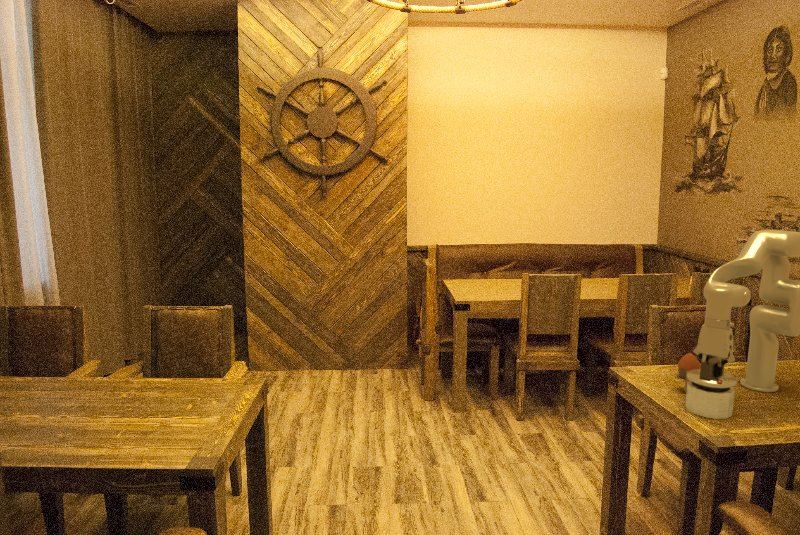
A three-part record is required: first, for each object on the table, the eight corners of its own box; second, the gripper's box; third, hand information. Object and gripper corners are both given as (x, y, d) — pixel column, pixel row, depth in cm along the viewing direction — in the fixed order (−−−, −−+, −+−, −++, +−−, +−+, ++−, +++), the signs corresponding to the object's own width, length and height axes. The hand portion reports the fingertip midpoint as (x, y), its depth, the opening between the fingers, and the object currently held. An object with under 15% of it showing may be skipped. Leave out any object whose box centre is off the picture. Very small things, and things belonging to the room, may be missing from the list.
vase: (698, 381, 236) (700, 359, 234) (679, 379, 237) (681, 358, 236) (693, 375, 242) (695, 354, 241) (675, 374, 244) (677, 353, 242)
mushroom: (672, 386, 230) (676, 348, 227) (695, 388, 228) (699, 350, 225) (677, 394, 222) (681, 355, 219) (701, 396, 220) (705, 356, 218)
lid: (698, 373, 216) (700, 351, 215) (743, 385, 205) (746, 362, 204) (678, 382, 207) (680, 359, 205) (724, 396, 195) (727, 371, 194)
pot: (696, 399, 217) (699, 375, 216) (738, 411, 207) (741, 386, 205) (678, 409, 208) (680, 384, 207) (720, 422, 198) (723, 396, 196)
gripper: (747, 326, 198) (742, 379, 202) (697, 316, 211) (692, 366, 214) (738, 330, 194) (732, 384, 197) (687, 319, 206) (682, 371, 209)
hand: (711, 374), depth 205 cm, fingers closed on lid, 3 cm apart
